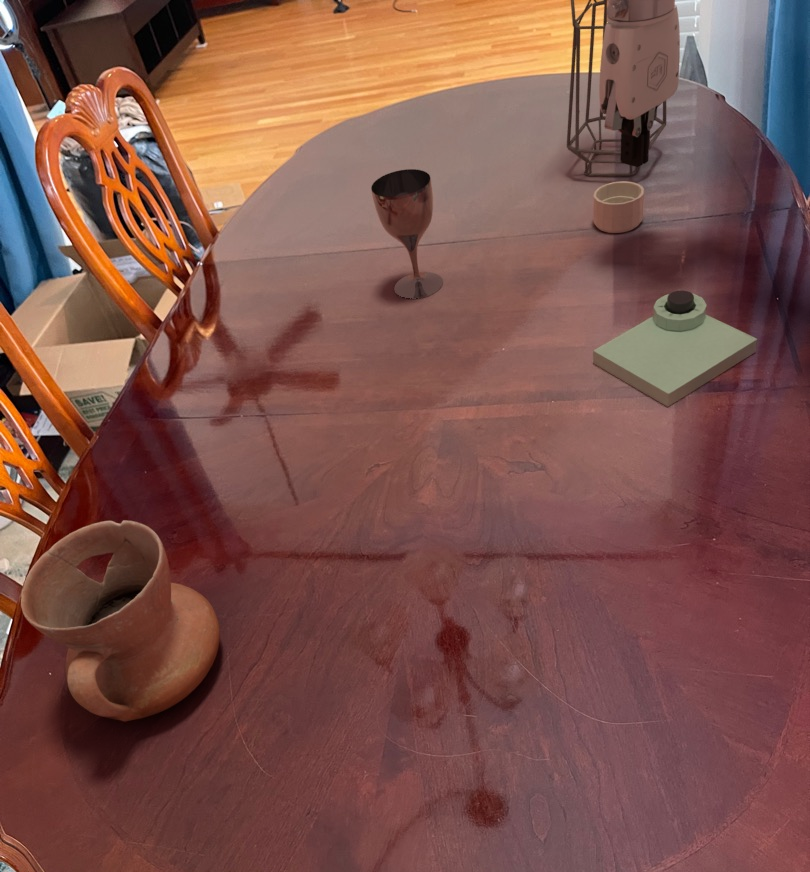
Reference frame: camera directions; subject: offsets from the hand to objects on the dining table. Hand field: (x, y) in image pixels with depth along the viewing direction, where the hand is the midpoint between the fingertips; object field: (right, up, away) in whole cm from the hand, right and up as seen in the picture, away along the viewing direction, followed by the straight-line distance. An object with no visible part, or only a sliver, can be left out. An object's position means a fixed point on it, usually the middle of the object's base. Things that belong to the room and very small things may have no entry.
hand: (634, 162), depth 106 cm
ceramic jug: (-54, -62, -28) cm, 87 cm away
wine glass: (-28, -13, +11) cm, 33 cm away
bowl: (+2, -2, +14) cm, 14 cm away
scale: (+2, -28, -10) cm, 29 cm away
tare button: (+3, -21, -8) cm, 23 cm away
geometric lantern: (+5, +12, +27) cm, 29 cm away
